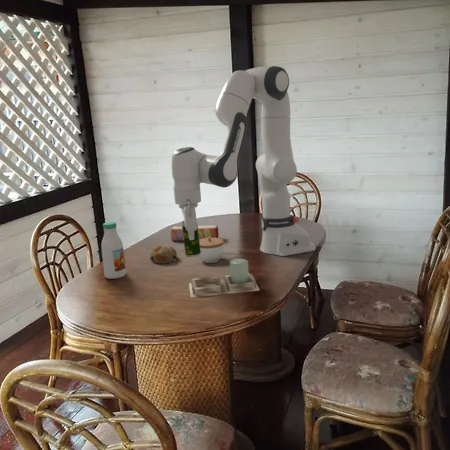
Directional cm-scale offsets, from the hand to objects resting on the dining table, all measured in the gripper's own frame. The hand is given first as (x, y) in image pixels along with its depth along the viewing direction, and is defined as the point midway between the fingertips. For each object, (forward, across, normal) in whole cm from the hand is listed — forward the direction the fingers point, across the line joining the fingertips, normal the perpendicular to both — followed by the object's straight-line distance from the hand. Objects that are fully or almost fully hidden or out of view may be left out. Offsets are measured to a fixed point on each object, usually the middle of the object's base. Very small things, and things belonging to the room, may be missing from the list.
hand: (191, 236), depth 162 cm
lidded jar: (+16, +19, -8) cm, 26 cm away
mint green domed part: (+15, -12, -14) cm, 24 cm away
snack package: (+16, +49, -4) cm, 52 cm away
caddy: (+16, -12, -9) cm, 22 cm away
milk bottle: (+16, +12, +28) cm, 35 cm away
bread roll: (+16, +25, +11) cm, 32 cm away
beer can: (+7, 0, 0) cm, 7 cm away
